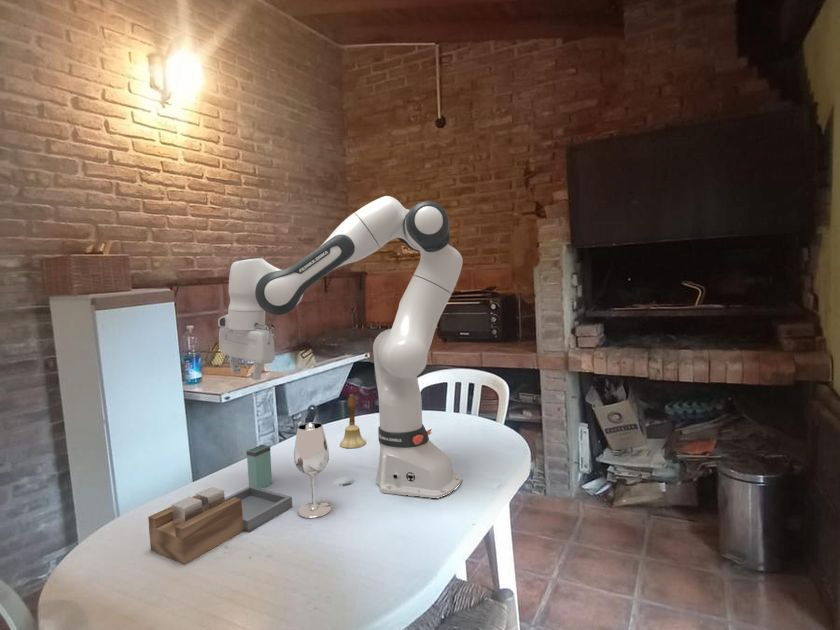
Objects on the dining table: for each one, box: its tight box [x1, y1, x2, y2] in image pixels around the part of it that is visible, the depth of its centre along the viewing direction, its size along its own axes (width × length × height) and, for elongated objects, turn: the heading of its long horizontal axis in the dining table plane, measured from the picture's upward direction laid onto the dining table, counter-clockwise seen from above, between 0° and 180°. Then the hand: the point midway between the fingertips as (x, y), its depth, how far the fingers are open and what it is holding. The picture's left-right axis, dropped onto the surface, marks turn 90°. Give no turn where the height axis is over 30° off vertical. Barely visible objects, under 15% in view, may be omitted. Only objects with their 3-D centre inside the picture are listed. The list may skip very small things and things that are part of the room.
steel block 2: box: [195, 486, 226, 512], centre depth 109 cm, size 4×4×4 cm
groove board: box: [147, 495, 245, 565], centre depth 106 cm, size 11×14×7 cm
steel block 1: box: [171, 496, 203, 525], centre depth 104 cm, size 4×4×4 cm
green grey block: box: [246, 444, 273, 489], centre depth 132 cm, size 5×3×10 cm, turn 150°
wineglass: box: [293, 422, 332, 519], centre depth 117 cm, size 8×8×20 cm
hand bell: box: [339, 393, 367, 449], centre depth 162 cm, size 8×8×16 cm
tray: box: [225, 485, 293, 533], centre depth 118 cm, size 14×13×2 cm
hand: (245, 376), depth 130 cm, fingers open, 8 cm apart
